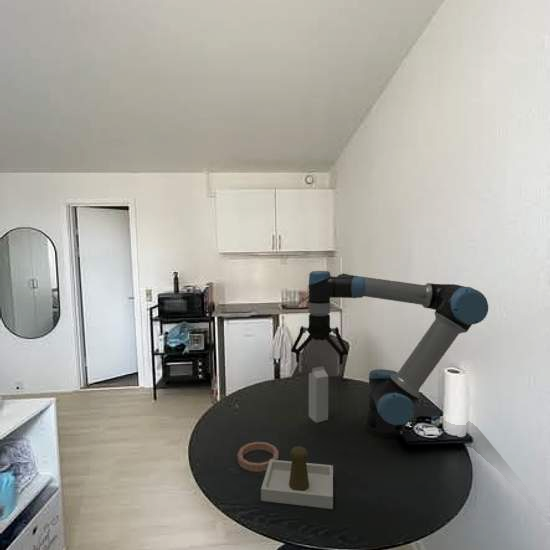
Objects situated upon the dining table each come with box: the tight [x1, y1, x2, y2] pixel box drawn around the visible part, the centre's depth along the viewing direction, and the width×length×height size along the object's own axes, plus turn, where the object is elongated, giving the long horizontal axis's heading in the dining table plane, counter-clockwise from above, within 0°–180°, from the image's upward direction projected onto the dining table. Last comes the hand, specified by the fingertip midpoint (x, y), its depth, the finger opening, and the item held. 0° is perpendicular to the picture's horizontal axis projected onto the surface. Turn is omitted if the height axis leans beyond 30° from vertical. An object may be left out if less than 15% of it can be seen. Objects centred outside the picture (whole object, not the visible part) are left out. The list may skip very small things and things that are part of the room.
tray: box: [260, 458, 334, 510], centre depth 102 cm, size 20×14×4 cm
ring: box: [237, 441, 279, 473], centre depth 116 cm, size 13×13×2 cm
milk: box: [308, 365, 329, 424], centre depth 144 cm, size 6×6×22 cm
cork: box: [289, 446, 309, 491], centre depth 102 cm, size 6×6×11 cm
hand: (319, 372), depth 124 cm, fingers open, 13 cm apart
